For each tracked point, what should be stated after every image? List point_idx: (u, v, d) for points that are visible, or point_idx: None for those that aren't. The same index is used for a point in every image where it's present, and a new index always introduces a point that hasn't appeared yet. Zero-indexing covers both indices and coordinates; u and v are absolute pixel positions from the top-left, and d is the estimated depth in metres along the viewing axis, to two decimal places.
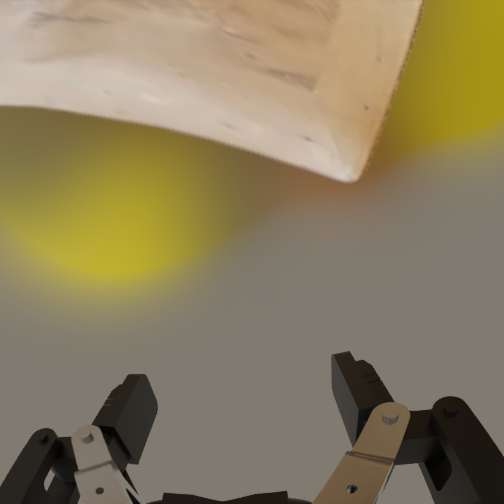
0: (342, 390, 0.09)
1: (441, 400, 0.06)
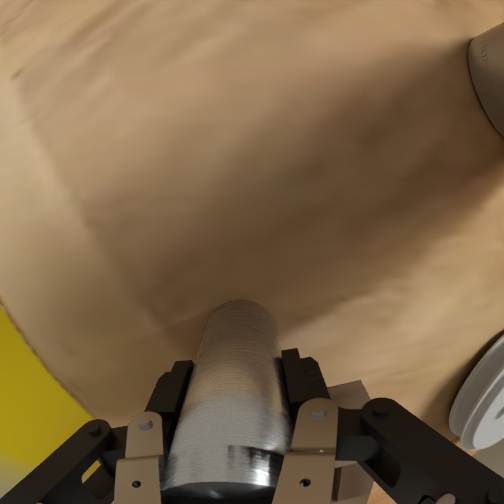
0: (286, 384, 0.10)
1: (368, 403, 0.07)
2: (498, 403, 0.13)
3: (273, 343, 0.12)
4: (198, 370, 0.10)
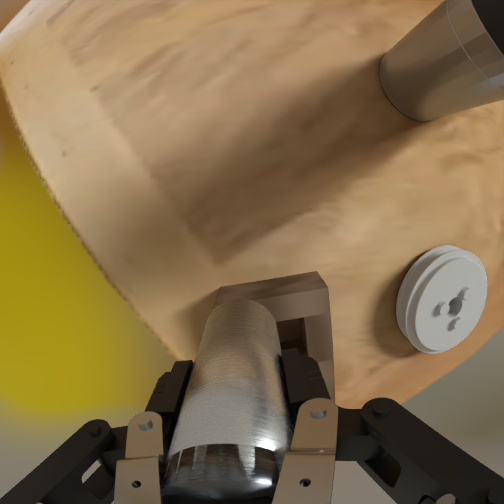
0: (286, 384, 0.10)
1: (368, 403, 0.07)
2: (429, 299, 0.26)
3: (273, 342, 0.12)
4: (197, 369, 0.10)
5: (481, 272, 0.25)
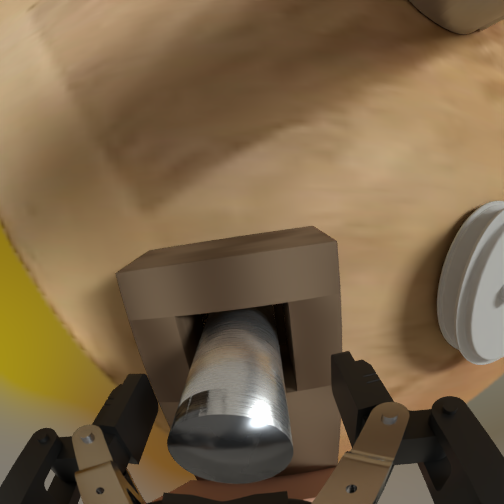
0: (341, 390, 0.09)
1: (440, 400, 0.06)
2: (492, 277, 0.14)
3: (269, 319, 0.15)
4: (204, 338, 0.12)
5: None
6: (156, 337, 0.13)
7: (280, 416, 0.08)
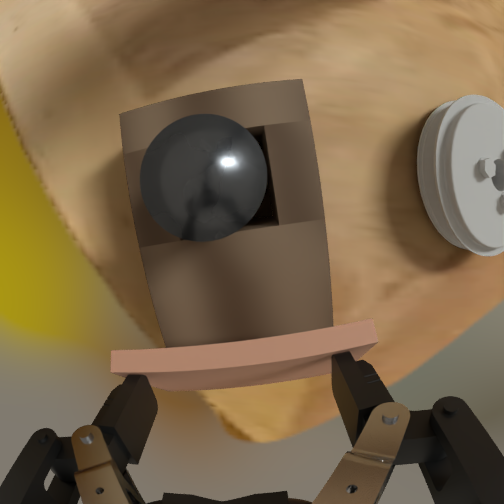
0: (342, 390, 0.09)
1: (441, 400, 0.06)
2: (465, 147, 0.15)
3: None
4: None
5: None
6: None
7: None
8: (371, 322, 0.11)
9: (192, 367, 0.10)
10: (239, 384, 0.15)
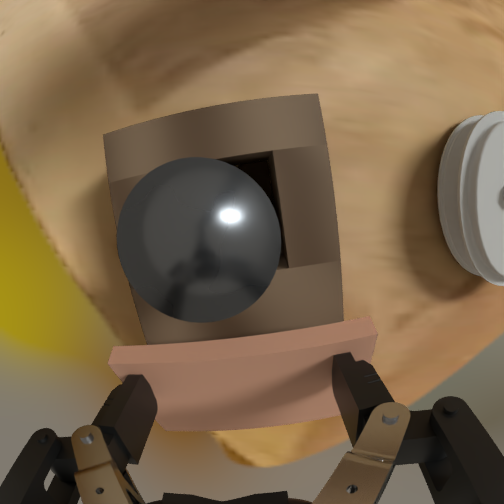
0: (342, 390, 0.09)
1: (441, 400, 0.06)
2: (491, 172, 0.13)
3: None
4: None
5: None
6: None
7: None
8: (369, 319, 0.11)
9: (190, 359, 0.11)
10: (240, 420, 0.13)
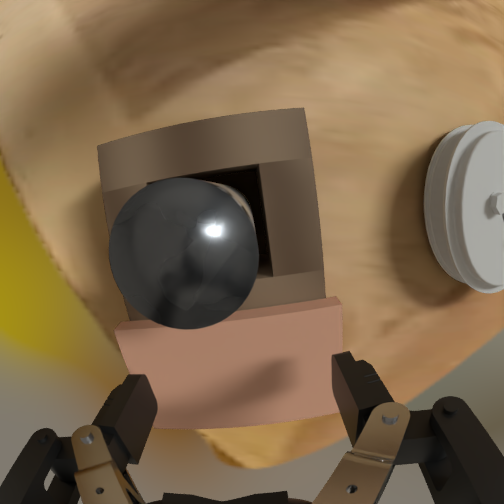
0: (342, 390, 0.09)
1: (441, 400, 0.06)
2: (477, 182, 0.14)
3: (243, 196, 0.14)
4: None
5: None
6: None
7: (242, 206, 0.08)
8: (335, 298, 0.14)
9: None
10: (226, 412, 0.14)
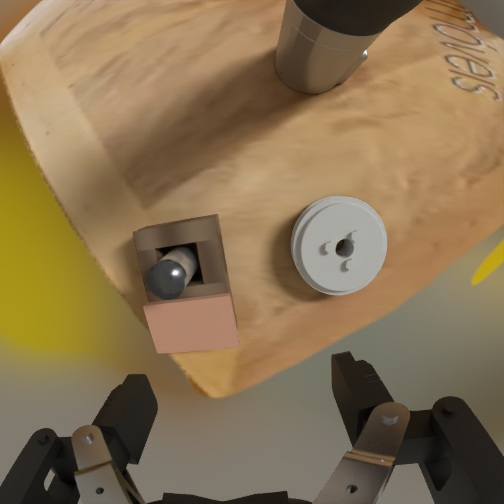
0: (342, 390, 0.09)
1: (441, 400, 0.06)
2: (313, 237, 0.34)
3: (193, 251, 0.35)
4: (165, 255, 0.33)
5: (373, 218, 0.34)
6: (147, 258, 0.34)
7: (181, 267, 0.29)
8: (229, 293, 0.35)
9: (170, 302, 0.34)
10: (188, 342, 0.35)
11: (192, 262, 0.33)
